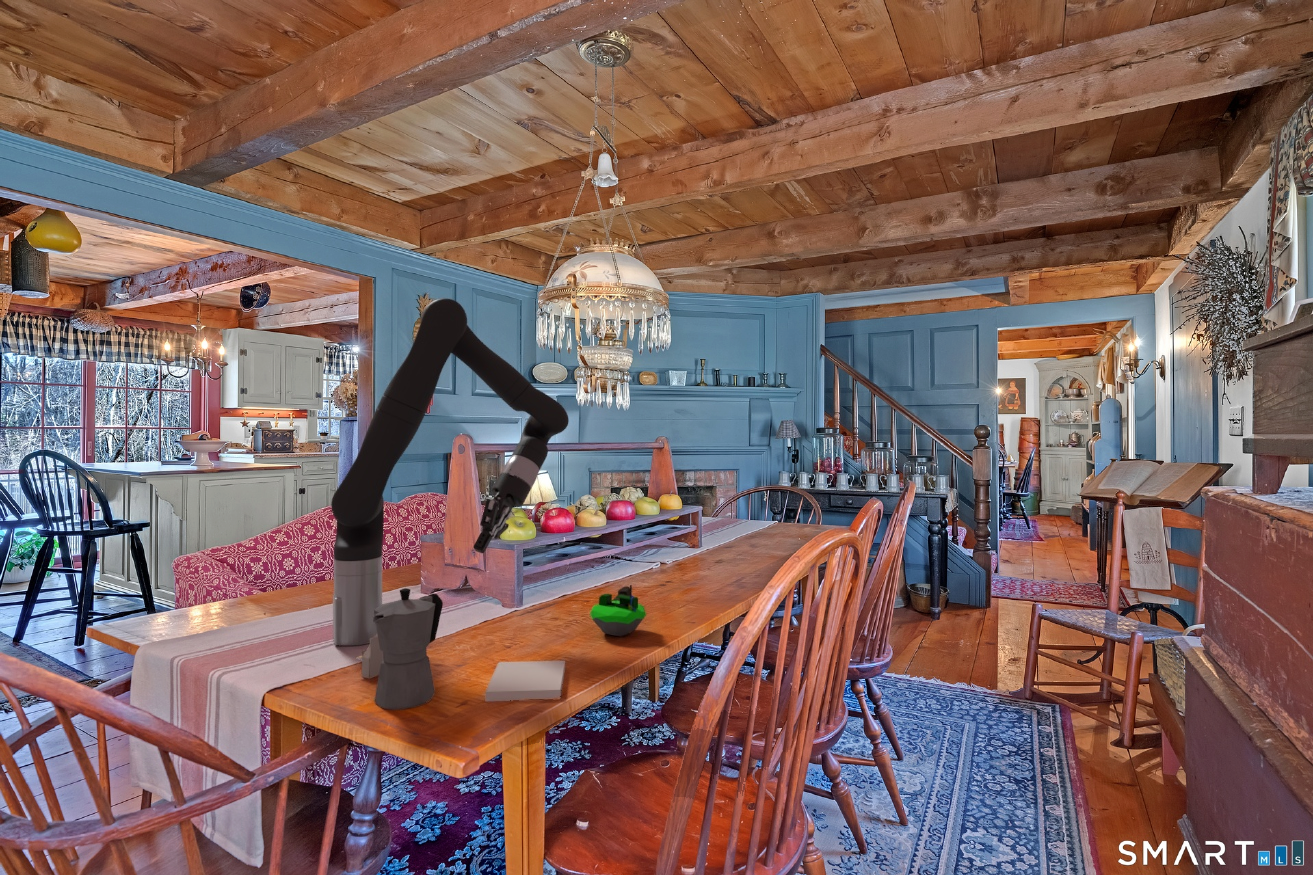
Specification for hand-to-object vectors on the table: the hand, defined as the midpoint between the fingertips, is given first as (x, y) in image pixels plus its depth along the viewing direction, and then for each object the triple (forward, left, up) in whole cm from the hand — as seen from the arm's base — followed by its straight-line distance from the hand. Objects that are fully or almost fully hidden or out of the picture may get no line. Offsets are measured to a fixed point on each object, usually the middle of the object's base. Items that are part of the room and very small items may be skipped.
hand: (478, 550), depth 139 cm
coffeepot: (-17, -23, -19) cm, 34 cm away
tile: (+4, -21, -18) cm, 28 cm away
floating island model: (+28, -9, -19) cm, 35 cm away
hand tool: (+36, +8, -19) cm, 41 cm away
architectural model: (-20, -8, -20) cm, 29 cm away
